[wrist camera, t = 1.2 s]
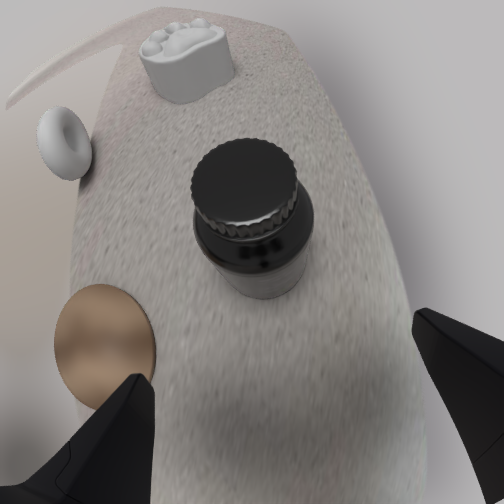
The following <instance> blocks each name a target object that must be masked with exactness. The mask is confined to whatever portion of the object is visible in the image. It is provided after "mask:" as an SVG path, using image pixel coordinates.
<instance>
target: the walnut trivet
mask: <svg viewBox="0 0 504 504" xmlns="http://www.w3.org/2000/svg"><path fill="white" fill-rule="evenodd" d="M54 350H55V358H56V363H57V366H58V370H59V372H60V375H61V377H62V379H63V381H64V383H65V385H66V386H67V388H68V389H69V390H70V391H71V393H72V394H73V395H74V396H75V397H76V398H77V399H78V400H79V401H80V402H82V403H83V404H84V405H86V406H88V407H90V408H92V409H95V410H97V409H98V408H99V407H100V406H101V405H102V404H103V403H104V402H105V401H106V400H107V399H108V397H109V396H110V395H111V394H112V393H113V392H114V391H115V390H116V389H117V388H118V387H119V386H120V385H121V383H122V382H123V381H124V380H125V379H126V378H127V377H128V376H129V375H130V374H132V373H142V374H143V375H144V376H145V377H146V379H147V380H148V381H149V383H150V382H151V379H152V377H153V373H154V369H155V361H156V346H155V339H154V334H153V330H152V327H151V325H150V322H149V320H148V318H147V316H146V314H145V312H144V310H143V309H142V307H141V306H140V305H139V304H138V302H137V301H136V300H135V299H134V298H133V297H131V296H130V295H129V294H127V293H126V292H124V291H122V290H120V289H118V288H116V287H113V286H110V285H105V284H95V285H90V286H87V287H85V288H83V289H81V290H79V291H78V292H77V293H75V294H74V295H73V296H72V297H71V298H70V299H69V300H68V302H67V303H66V304H65V306H64V308H63V310H62V311H61V314H60V316H59V318H58V321H57V325H56V330H55V337H54Z"/></svg>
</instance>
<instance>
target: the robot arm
mask: <svg viewBox="0 0 504 504" xmlns="http://www.w3.org/2000/svg"><path fill="white" fill-rule="evenodd" d="M412 336H413V338H414V340H415V343H416V345H417V347H418V350H419V352H420V354H421V357H422V359H423V361H424V364H425V366H426V368H427V371H428V373H429V375H430V377H431V379H432V380H433V382H434V384H435V386H436V388H437V390H438V392H439V394H440V396H441V397H442V399H443V401H444V403H445V405H446V407H447V409H448V411H449V413H450V415H451V418H452V420H453V422H454V424H455V426H456V428H457V430H458V432H459V435H460V437H461V439H462V441H463V444H464V446H465V448H466V451H467V453H468V455H469V458H470V460H471V463H472V465H473V468H474V471H475V473H476V476H477V479H478V481H479V484H480V487H481V490H482V493H483V496H484V499H485V502H486V504H495V503H496V502H498V501H500V500H502V499H504V341H501V340H499V339H497V338H495V337H493V336H490V335H488V334H486V333H484V332H481V331H479V330H477V329H475V328H472V327H470V326H468V325H466V324H463V323H461V322H459V321H456V320H454V319H452V318H449V317H447V316H445V315H443V314H440V313H438V312H436V311H433V310H431V309H429V308H422V309H419V310H417V311H415V313H414V317H413V324H412ZM154 436H155V392H154V389H153V387H152V386H151V384H150V383H149V381H148V380H147V379H146V377H145V376H144V375H143V374H142V373H132V374H130V375H129V376H128V377H127V378H126V379H125V380H124V381H123V382H122V383H121V385H120V386H119V387H118V388H117V389H116V390H115V391H114V392H113V393H112V394H111V395H110V396H109V397H108V399H107V400H106V401H105V402H104V403H103V404H102V405H101V406H100V407H99V408H98V409H97V410H96V411H95V413H94V414H93V415H92V416H91V417H90V418H89V419H88V420H87V421H86V422H85V423H84V424H83V425H82V427H81V428H80V429H79V430H78V431H77V432H76V433H75V434H74V435H73V436H72V437H71V439H70V441H68V442H67V443H66V444H65V445H64V446H63V447H62V448H61V449H60V450H59V451H58V452H57V453H56V454H55V455H54V456H53V457H52V458H51V459H50V460H49V461H48V462H47V463H46V464H45V465H44V466H42V467H41V468H40V469H39V470H38V471H37V472H36V473H35V474H33V475H32V476H31V477H30V478H29V479H28V480H26V481H25V482H23V483H21V484H18V485H12V486H0V504H150V496H151V475H152V460H153V447H154Z"/></svg>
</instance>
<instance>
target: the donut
mask: <svg viewBox="0 0 504 504" xmlns="http://www.w3.org/2000/svg"><path fill="white" fill-rule="evenodd" d="M36 135H37V146H38V149H39V152H40V154H41V157H42V159H43V160H44V162H45V164H46V166H47V167H48V168H49V169H50V170H51V171H52V172H53V173H54V174H55V175H57V176H58V177H60V178H62V179H65V180H69V181H70V180H71V181H73V180H76V179H78V178H81V177H83V176H84V175H85V173H86V172H87V171H88V169H89V167H90V164H91V160H92V148H91V143H90V139H89V136H88V134H87V131H86V129H85V127H84V125H83V123H82V122H81V120H80V119H79V117H77V116H76V114H75V113H74V112H73V111H71V110H70V109H68V108H66V107H61V106H56V107H53V108H51V109H49V110H47V111H46V112H45V113H44V114H43V116H42V117H41V119H40V121H39V123H38V128H37V134H36Z"/></svg>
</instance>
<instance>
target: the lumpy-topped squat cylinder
mask: <svg viewBox="0 0 504 504" xmlns="http://www.w3.org/2000/svg"><path fill="white" fill-rule="evenodd" d="M139 57H140V59H141V61H142V63H143V65H144V68H145V70H146V72H147V74H148V76H149V78H150V80H151V82H152V84H153V86H154V88H155V90H156V92H157V93H158V94H159V95H161V96H162V97H163V98H165V99H167V100H168V101H170V102H172V103H176V104H187V103H192V102H194V101H197V100H199V99H200V98H202V97H203V96H205V95H206V94H207V93H209V92H210V91H212V90H213V89H215V88H217V87H219V86H222V85H224V84H226V83H228V82H229V81H231V80H232V79H233V78H234V75H235V72H234V68H233V63H232V59H231V54H230V50H229V45H228V41H227V36H226V32H225V30H224V29H222V28H220V27H218V26H215V25H212V24H210V23H209V22H208V21H207V20H206V19H203V18H197V19H195V20H193V21H191V22H190V23H185V24H181V23H179V22H172V23H170V24H168V25H167V27H164V28H163V29H162V30H157V31H154V32H153V33H152V34H151V35H150V37H148V38H147V39H146V40H145V41H144V42H143V43H142V45H141V46H140V49H139Z"/></svg>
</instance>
